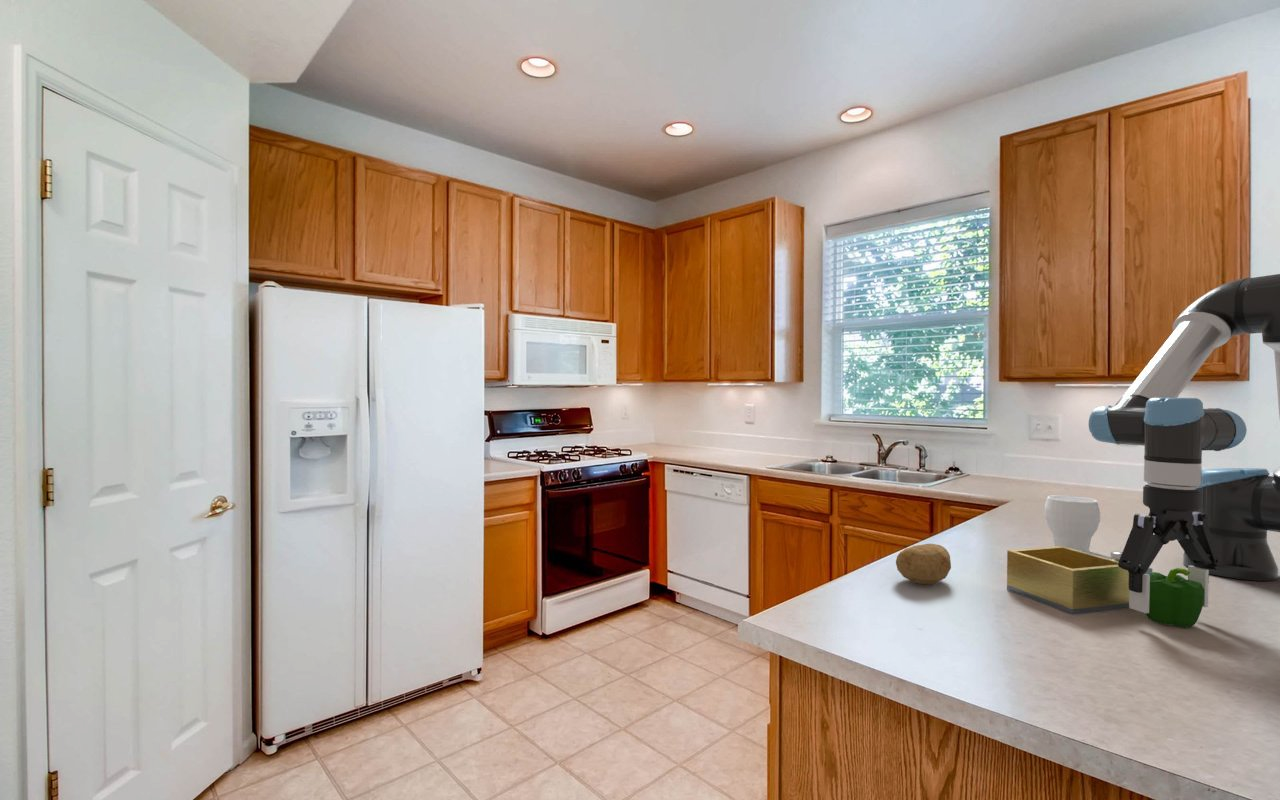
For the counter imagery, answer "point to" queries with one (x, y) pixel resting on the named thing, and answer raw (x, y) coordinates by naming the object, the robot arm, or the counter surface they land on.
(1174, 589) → the bell pepper
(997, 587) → the counter surface
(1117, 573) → the gold open box
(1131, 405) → the robot arm
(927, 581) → the potato
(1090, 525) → the cup
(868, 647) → the counter surface
